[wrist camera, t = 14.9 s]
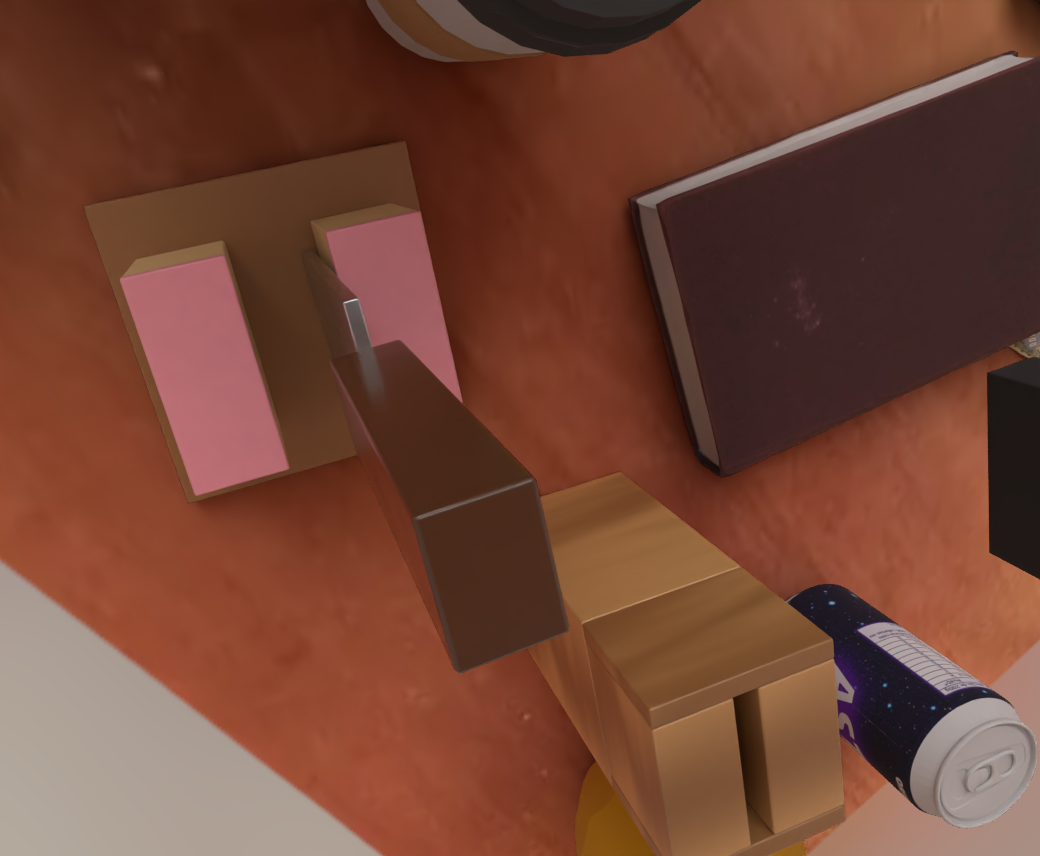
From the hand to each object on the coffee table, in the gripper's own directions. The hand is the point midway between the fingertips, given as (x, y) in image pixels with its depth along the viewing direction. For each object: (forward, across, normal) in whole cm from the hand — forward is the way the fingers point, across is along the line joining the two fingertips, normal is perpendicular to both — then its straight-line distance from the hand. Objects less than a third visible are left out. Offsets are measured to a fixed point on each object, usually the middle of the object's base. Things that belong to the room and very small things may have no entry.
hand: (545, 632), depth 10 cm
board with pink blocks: (+25, -1, 0) cm, 25 cm away
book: (+25, +23, -4) cm, 34 cm away
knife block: (+25, +7, -14) cm, 30 cm away
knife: (+24, 0, 0) cm, 24 cm away
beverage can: (+25, +19, -23) cm, 39 cm away
